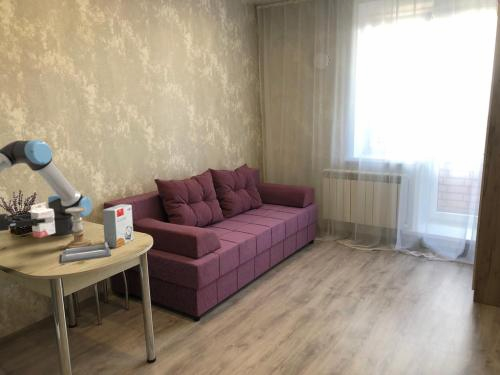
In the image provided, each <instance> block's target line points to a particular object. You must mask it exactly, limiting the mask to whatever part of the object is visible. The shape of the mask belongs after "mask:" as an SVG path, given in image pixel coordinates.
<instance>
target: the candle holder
mask: <svg viewBox="0 0 500 375" xmlns="http://www.w3.org/2000/svg"><path fill="white" fill-rule="evenodd" d="M86 210H87V208H86V207H73V208H68V209H66V210H65V212H66V213H71V215H73V217H72V221H73V227H72V230H73V231H74V232H73V233H71V235H72V236H73V240H71V241H70V242H69V243H67V244H66V249H72V248H80V247H87V246H93V242H92V241H91V240H89V239H87V238H84V235H85V232H84V231H83V230H84V225H83V223H82V220H83V217H80V215H81V213H82V212H84V211H86Z"/></svg>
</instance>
